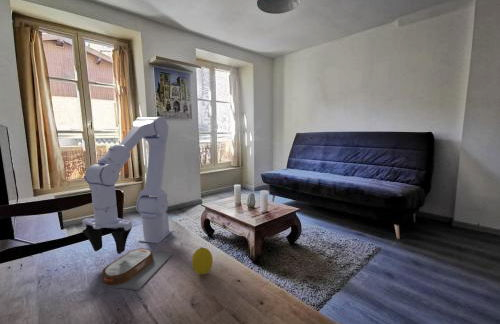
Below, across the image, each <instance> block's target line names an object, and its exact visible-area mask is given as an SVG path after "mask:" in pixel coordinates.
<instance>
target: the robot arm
mask: <svg viewBox="0 0 500 324" xmlns="http://www.w3.org/2000/svg"><path fill="white" fill-rule="evenodd" d="M168 133H169V124H168V122H167V120H166V119H165V117H163V116H156V117H155V116H153V117H152V116H151V117H149V116H148V117H143V116H138V117H137V118H135V120H134V121H133V122H132V128H131V129H130V130H129V131H128V133H127V134H126V135H125V137H124V138H123V139H122V141H121V143H119V144H114V145H110V147H109V148H108V151H107V152H106V153H105V154H103V156H102V158H99V159H98V162H97V163H95V164H91V165H90V166H89V167H88V168H87V169H86V170H85V174H84V175H83V179H84V181H85V182H86V183H87V185H88V188H89V190H90V192H91V203H92V209H93V217H87V218H85V219H82V221H81V222H82V223H81V224H82V228H85V229H83V230H82V234H83V235H84V236H85V237H86V238H87V240H88V241H89V242H90V244H91V247H92V248H93V250H94V252H98V251H100V250H101V249H103V231H104V229H105V228H107V229H116V230H114V231H113V232H111V236H112V237H113V240H114V242H115V249H116V253H117V254H118V255H120V254H122V253H123V252H125V250H126V245H127V241H128V238H129V235H130V233H131V231H132V228H133V224H132V223H133V222H132V221H131V220H125V219H123V218H119V217H118V214H119V213H118V208H117V207H118V206H117V204H118V203H117V195H116V183H117V182H118V181H119V178H120V173H121V170H122V168H123V167H124V165H125V164H126V163H127V162H128V161H129V160H130V158H131V156H132V155H131V151H132V149H134V148H135V146H137V145H138V143H140V142H141V140H143V139H144V140H145V141H146V142H148V144H149V145H150V146H149V153H148V162H147V163H148V164H147V170H146V171H147V173H146V178H145V179H146V181H145V188H143V189H142V190H141V191H139V193H138V198H137V200H136V202H135V209H136V212H138V213H139V215H140V216H141V219H142V220H141V221H142V232H143V233H142V234H143V236H142V237H140V238H139V239H138V242H139V243H140V242H142V243H153V244H159V243H160V242H162V240H163V239H165V238H166V237H168V235H169V234H171V233H172V230H170V224H169V223H170V222H169V215H168V212H167V211H168V208H169V202H168V194H167V192H165V191H164V190H163V189H162V186H163V185H162V184H163V176H164V167H165V159H166V158H165V157H166V148H167V141H168V136H169V135H168Z"/></svg>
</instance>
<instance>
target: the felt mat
mask: <svg viewBox="0 0 500 324" xmlns="http://www.w3.org/2000/svg"><path fill="white" fill-rule="evenodd" d="M152 254H153V262H152V263H151V264H150V265H149V266H147V267H146V268H145V269H144V270H142V271H141V272H140V273H139V274H137V275H136V276H135V277H133V278H132V279H131V280H129V281H127V282H125V283H123V284H120V285H113V286H109V285H105V284H104V283H103V282H101V283H100V286H103V287H108V288H109V287H111V288H118V289H124V290H125V289H126V290H131V291H132V290H133V291H140V290H141V289H142V288H143V287H144V286H145V284H147V283H148V282H149V281H150V279H151V278H152V277H153V276H154V275H155V274H156V273H158V271H159V270H160V269H161V268H162V266H164V265H165V263H167V261H168V260H169V259H170V258H171V257H172V256H173V253H168V252H167V253H166V252H158V251H152Z"/></svg>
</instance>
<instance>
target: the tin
mask: <svg viewBox="0 0 500 324" xmlns="http://www.w3.org/2000/svg"><path fill="white" fill-rule="evenodd" d="M152 252H153V251H152V249H149V248H141V247H140V248H135V249H132V250H130V251H128V252H126V253H124V254H123V255H121V256H120V257H118V258H116V260H113V261H112V262H110V263H109V264H107V265H106V266H105V267H104V268H103V270H102V271H101V275H102V279H101V281H102V282H101V283H104V284H105V285H109V286H113V285H120V284H123V283H125V282H127V281H129V280H131V279H132V278H133V277H135V276H136V275H137V274H139V273H140V272H141V271H142V270H144V269H145V268H146V267H147V266H149V265H150V264H151V263H152V262H153V254H152Z"/></svg>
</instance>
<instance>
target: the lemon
mask: <svg viewBox="0 0 500 324" xmlns="http://www.w3.org/2000/svg"><path fill="white" fill-rule="evenodd" d="M191 265H192V269H193V270H194V272H195V273H196V274H199V275H202V276H204V275H205V274H207V273H209V272H210V271H211V269H212V267H213V255H212V253H211V251H210V250H209V248H206V247H203V246H202V247H200V248H198V249H197V250H195V251H194V253H193V255H192V260H191Z"/></svg>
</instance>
